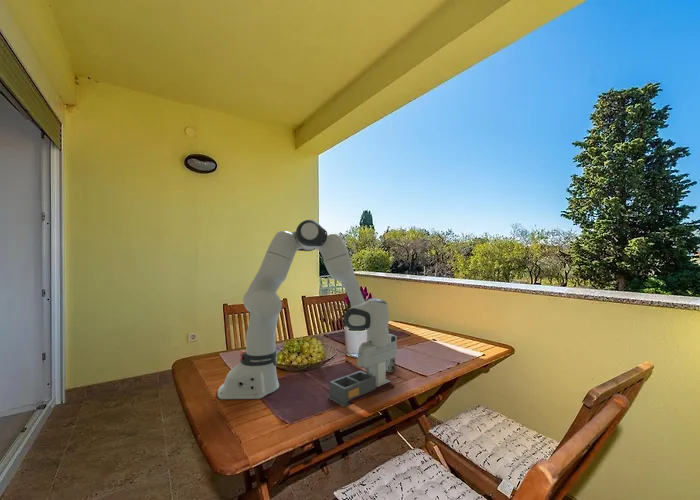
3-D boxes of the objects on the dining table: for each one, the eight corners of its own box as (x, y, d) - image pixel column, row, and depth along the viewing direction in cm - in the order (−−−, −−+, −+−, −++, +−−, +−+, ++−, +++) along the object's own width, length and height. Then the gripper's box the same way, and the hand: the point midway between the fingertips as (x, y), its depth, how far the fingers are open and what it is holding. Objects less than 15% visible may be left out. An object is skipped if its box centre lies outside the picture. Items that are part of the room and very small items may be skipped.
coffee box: (394, 375, 129) (394, 338, 130) (379, 374, 131) (379, 337, 131) (395, 368, 138) (395, 333, 139) (381, 367, 140) (381, 332, 140)
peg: (378, 384, 117) (378, 363, 117) (370, 380, 120) (370, 361, 121) (385, 381, 120) (385, 361, 120) (377, 378, 123) (377, 358, 123)
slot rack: (344, 407, 102) (344, 389, 102) (328, 398, 109) (328, 381, 109) (392, 385, 120) (392, 370, 120) (376, 378, 126) (376, 364, 126)
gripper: (365, 345, 111) (365, 383, 111) (399, 336, 125) (399, 369, 125) (353, 342, 116) (353, 377, 116) (387, 333, 130) (387, 365, 129)
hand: (377, 373), depth 120 cm, fingers open, 8 cm apart
